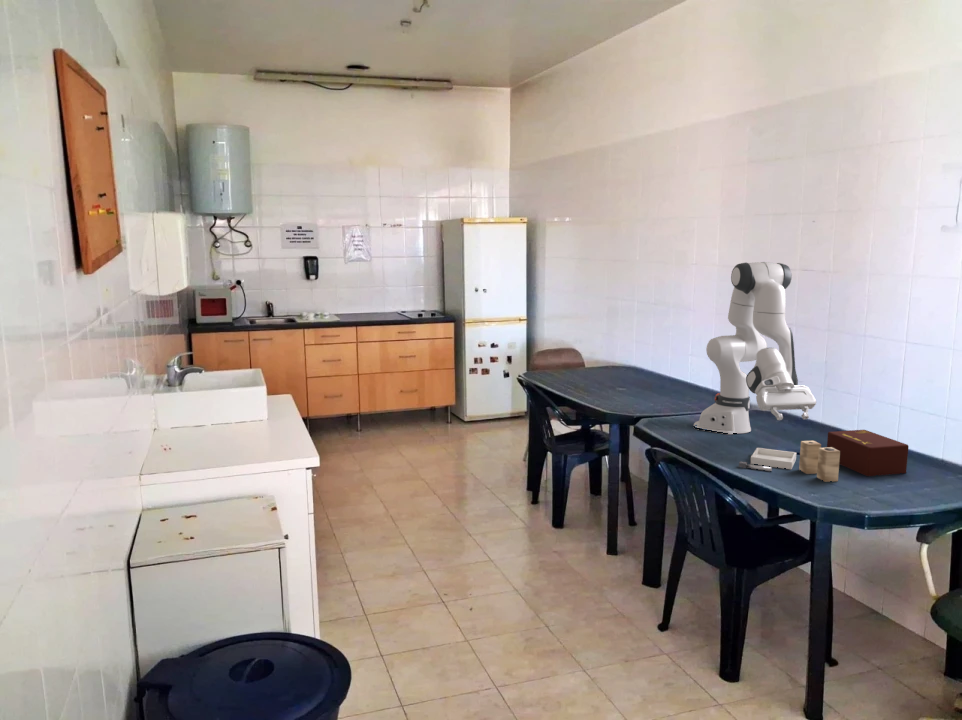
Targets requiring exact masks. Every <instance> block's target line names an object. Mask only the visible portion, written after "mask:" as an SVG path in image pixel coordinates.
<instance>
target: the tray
mask: <svg viewBox="0 0 962 720" xmlns="http://www.w3.org/2000/svg"><path fill="white" fill-rule="evenodd" d="M796 460H797V452H795V451H786V450H779V449H778V450H777V449H771V448H763V447H756V448H755V450H754V452H753V453H752V454H751V456H750V465H754V464H758V465H757V466H762V465H764V467H769V466H770V467H772V468H777V467H778V469H784V468H786V470H792V469H793V467H794V465H795V462H796Z"/></svg>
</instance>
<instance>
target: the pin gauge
mask: <svg viewBox="0 0 962 720" xmlns="http://www.w3.org/2000/svg"><path fill="white" fill-rule="evenodd" d="M739 467H742V468H741V469H743V468H746V469H748V468H751V469H750V470H756V469H758V470H757V471H763V470H765V471H764V472H770V471H773V467H769V466H762V465H754V464H751V463H750V464H748V461H747V462H746V461H739V462H738V468H739Z"/></svg>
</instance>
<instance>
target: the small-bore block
mask: <svg viewBox="0 0 962 720" xmlns="http://www.w3.org/2000/svg"><path fill="white" fill-rule="evenodd" d="M819 448H822V444H821V443H820V442H817V441H816V440H800V451H799V466H798V467H799V468H798V470H799V471H800V470H801V472H803V473H804V474H806V475H810V474H815V475H816V474H817V468H818V454H819Z"/></svg>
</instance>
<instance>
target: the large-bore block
mask: <svg viewBox="0 0 962 720" xmlns="http://www.w3.org/2000/svg"><path fill="white" fill-rule="evenodd" d="M839 460H840V451H839V450H837V449H834V448H832V447H827V446H826V447H821V448H819V454H818V468H817V473H816V478H817V479H819V480H821V481H822V480H823V482H824V483H825V482H830V481H832V482H838V481H839V471H840V470H839V469H840V464H839Z"/></svg>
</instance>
